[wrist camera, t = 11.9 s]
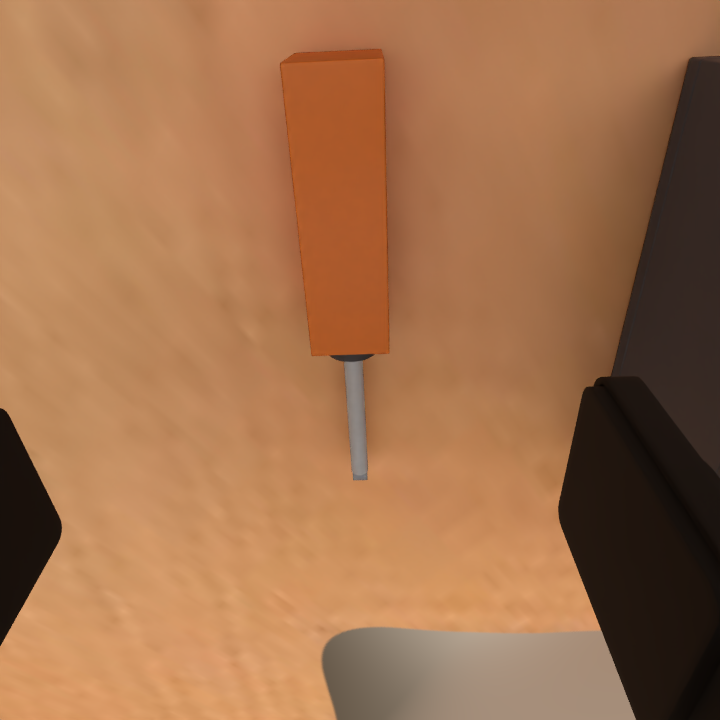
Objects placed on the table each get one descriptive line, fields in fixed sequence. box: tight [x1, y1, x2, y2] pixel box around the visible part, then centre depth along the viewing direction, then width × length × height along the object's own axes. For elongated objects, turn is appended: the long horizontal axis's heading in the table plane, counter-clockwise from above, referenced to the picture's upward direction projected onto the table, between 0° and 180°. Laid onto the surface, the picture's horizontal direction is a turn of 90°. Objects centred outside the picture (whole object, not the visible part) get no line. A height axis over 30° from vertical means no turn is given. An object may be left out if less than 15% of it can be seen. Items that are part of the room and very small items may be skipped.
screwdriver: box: [280, 49, 389, 480], centre depth 22 cm, size 18×3×4 cm, turn 2°
